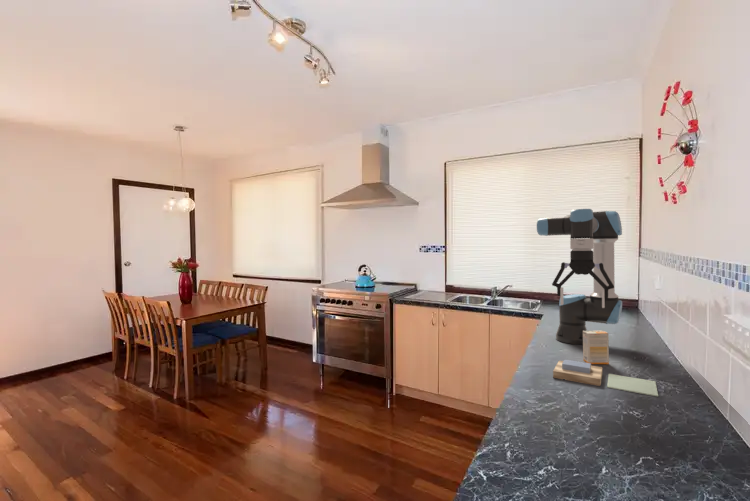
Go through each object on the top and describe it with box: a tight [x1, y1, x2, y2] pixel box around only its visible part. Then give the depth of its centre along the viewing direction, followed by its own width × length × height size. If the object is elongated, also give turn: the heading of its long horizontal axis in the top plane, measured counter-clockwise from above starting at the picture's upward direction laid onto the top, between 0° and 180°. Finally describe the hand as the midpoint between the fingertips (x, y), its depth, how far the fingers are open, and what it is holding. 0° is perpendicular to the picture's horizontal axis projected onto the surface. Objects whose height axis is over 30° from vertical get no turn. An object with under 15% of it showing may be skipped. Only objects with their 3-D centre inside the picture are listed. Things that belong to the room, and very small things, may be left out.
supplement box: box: [582, 330, 610, 365], centre depth 149 cm, size 8×5×13 cm, turn 84°
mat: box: [606, 373, 659, 398], centre depth 126 cm, size 14×14×1 cm
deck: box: [552, 360, 603, 387], centre depth 136 cm, size 14×15×2 cm
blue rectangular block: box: [562, 359, 592, 374], centre depth 136 cm, size 9×6×2 cm, turn 55°
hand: (582, 305), depth 136 cm, fingers open, 13 cm apart
